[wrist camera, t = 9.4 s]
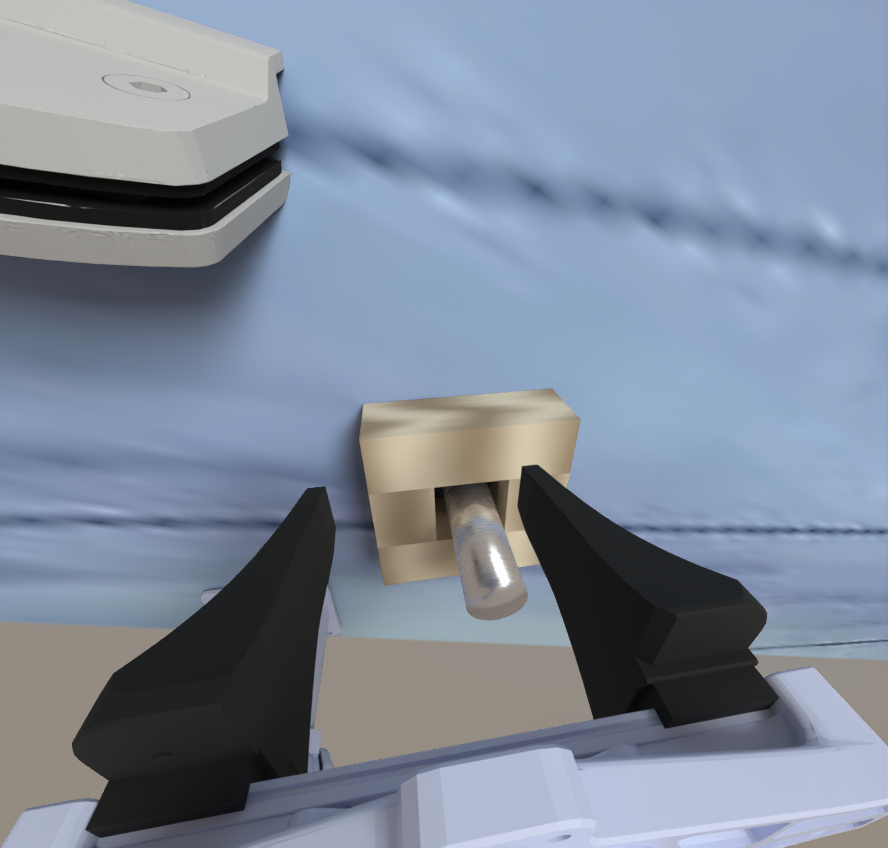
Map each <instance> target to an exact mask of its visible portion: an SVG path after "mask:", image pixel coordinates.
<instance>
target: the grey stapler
mask: <svg viewBox="0 0 888 848" xmlns="http://www.w3.org/2000/svg"><path fill="white" fill-rule="evenodd" d="M283 69H284V62H283V55H282V51H280V50H277V49H274V48H271V47H268V46H265V45H262V44H259V43H256V42H253V41H250V40H247V39H244V38H241V37H237V36H234V35H231V34H228V33H225V32H222V31H219V30H216V29H213V28H210V27H207V26H204V25H201V24H198V23H195V22H192V21H189V20H186V19H182V18H179V17H176V16H173V15H170V14H167V13H164V12H161V11H158V10H155V9H152V8H149V7H146V6H143V5H140V4H137V3H134V2H130V1H127V0H0V255H9V256H17V257H26V258H35V259H43V260H55V261H67V262H80V263H92V264H108V265H130V266H153V267H202V266H209V265H212V264H215V263H218V262H219V261H221V260H222V259H223V258H224V257H225V256H226V255H227V254H229V253H230V252H231V251H232V250H233V249H234V248H235V247H236V246H237V245H238V244H240V243H241V242H242V241H243V240H244V239H245V238H246V237H247V236H248V235H249V234H250V233H252V232H253V231H254V230H255V229H256V228H257V227H258V226H259V225H260V224H261V223H263V222H264V221H265V220H266V219H267V218H268V217H269V216H270V215H271V214H272V213H274V212H275V211H276V210H277V209H278V208H279V207H280V206H281V205H282V204H283V203H285V202H286V198H287V194H288V188H289V181H290V174H291V173H290V172H287V171H283V170H281V161H278V160H275V159H271V158H267V157H266V156H268V155H269V154H271V153H273V152H274V151H276V150H277V149H279V148H280V144H279V141H280V140H282V139H284V138H285V137H287V136H288V131H287V126H286V121H285V117H284V112H283V107H282V102H281V97H280V92H279V88H278V83H277V78H276V74H277V73H279V72H280V71H282V70H283Z"/></svg>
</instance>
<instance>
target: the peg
mask: <svg viewBox="0 0 888 848" xmlns="http://www.w3.org/2000/svg"><path fill="white" fill-rule="evenodd" d="M442 489H443V494H444V499H445V504H446V509H447V514H448V519H449V524H450V529H451V534H452V539H453V544H454V548H455V553H456V558H457V563H458V568H459V573H460V578H461V583H462V588H463V593H464V598H465V603H466V608H467V611H468V613H469V614H470V615H471V616H473V617H475V618H477V619H481V620H497V619H501V618H505V617H507V616H510V615H512V614H514V613H515V612H517V611H518V610H519V609H521V608H522V607H523V605H524V604H525V602H526V601H527V597H528V593H527V590H526V587H525V585H524V582H523V579H522V577H521V574H520V571H519V568H518V566H517V563H516V560H515V558H514V555H513V552H512V549H511V547H510V544H509V541H508V539H507V536H506V533H505V530H504V528H503V525H502V522H501V520H500V517H499V514H498V511H497V509H496V506H495V503H494V501H493V498H492V495H491V492H490V490H489V487H488V484H487V482H482V483H473V484H463V485H454V486H445V487H442Z"/></svg>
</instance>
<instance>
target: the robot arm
mask: <svg viewBox="0 0 888 848" xmlns="http://www.w3.org/2000/svg"><path fill="white" fill-rule="evenodd" d="M517 507H518V511H519V514H520V517H521V520H522V523H523V526H524V529H525V532H526V534H527V536H528V539H529V541H530V543H531V545H532V547H533V549H534V552H535V554H536V556H537V558H538V560H539V562H540V564H541V566H542V569H543V571H544V573H545V575H546V577H547V579H548V581H549V583H550V586H551V588H552V591H553V593H554V595H555V598H556V601H557V604H558V607H559V609H560V612H561V615H562V618H563V621H564V624H565V627H566V630H567V633H568V636H569V639H570V642H571V645H572V648H573V651H574V654H575V657H576V661H577V664H578V667H579V670H580V674H581V677H582V680H583V684H584V687H585V690H586V694H587V698H588V701H589V704H590V708H591V712H592V715H593V719H594V720H590V721H584V722H579V723H573V724H568V725H562V726H557V727H552V728H546V729H541V730H535V731H531V732H525V733H519V734H514V735H509V736H504V737H498V738H492V739H487V740H483V741H476V742H471V743H466V744H460V745H455V746H449V747H444V748H439V749H433V750H428V751H423V752H417V753H412V754H407V755H401V756H396V757H390V758H386V759H380V760H374V761H369V762H364V763H359V764H353V765H347V766H342V767H337V768H334V765H333V762H332V760H331V757H330V754H329V752H328V750H327V749H325V748H320V741H321V733H322V731H321V730H316V729H314V724H315V717H316V710H317V702H318V695H319V688H320V681H321V674H322V666H323V659H324V652H325V645H326V638H327V637H329V636H336V635H339V634H340V633H341V626H340V623H339V619H338V616H337V612H336V609H335V606H334V602H333V599H332V596H331V592H330V589H329V586H328V580H329V575H330V570H331V565H332V560H333V554H334V543H335V528H336V527H335V523H334V519H333V515H332V511H331V507H330V503H329V499H328V495H327V491H326V487H315V488H307V490H306V491H305V492H304V493H303V495H302V496H301V498H300V499H299V500H298V502H297V503H296V505H295V506H294V507H293V509H292V510H291V512H290V513H289V514H288V516H287V517H286V518H285V520H284V521H283V522H282V524H281V525H280V526H279V527H278V529H277V530H276V531H275V533H274V534H273V535H272V536H271V538H270V539H269V540H268V541H267V542H266V544H265V545H264V546H263V547H262V548H261V549H260V551H259V552H258V553H257V554H256V555H255V556H254V558H253V559H252V560H251V561H250V562H249V563H248V564H247V565H246V566H245V567H244V568H243V569H242V570H241V571H240V572H239V573H238V574H237V576H236V577H235V578H234V579H233V580H232V581H231V582H230V583H228V584H227V585H226V586H225V587H224V588H223V589H217V590H209V591H205V592H203V593H202V595H201V597H200V599H201V601H202V602H203V606H202V608H201V609H200V610H198V611H197V612H196V613H195V614H193V615H192V616H191V617H190V618H189V619H187V620H186V621H185V622H184V623H182V624H181V625H180V626H179V627H177V628H176V629H175V630H173V631H172V632H171V633H170V634H168V635H167V636H166V637H164V638H163V639H162V640H160V641H159V642H158V643H156V644H155V645H153V646H152V647H151V648H149V649H148V650H146V651H145V652H143V653H142V654H141V655H139V656H138V657H136V658H135V659H134V660H132V661H131V662H129V663H128V664H126V665H125V666H124V667H122V668H121V669H119V670H118V671H116V672H115V673H113V675H112V676H111V678H110V680H109V681H108V682H107V684H106V686H105V687H104V689H103V690H102V692H101V693H100V695H99V697H98V699H97V700H96V702H95V704H94V706H93V707H92V709H91V711H90V713H89V714H88V716H87V718H86V720H85V721H84V723H83V725H82V726H81V728H80V730H79V732H78V733H77V735H76V737H75V739H74V740H73V742H72V748H73V752H74V755H75V756H76V757H77V758H78V759H79V760H80V761H81V762H83V763H84V764H85V765H87V766H88V767H90V768H91V769H93V770H94V771H95V772H97V773H98V774H100V775H101V776H103V777H104V778H106V779H107V780H109V782H108V784H107V786H106V788H105V790H104V792H103V794H102V796H101V798H100V800H97V799H89V798H85V799H76V800H70V801H65V802H59V803H54V804H49V805H43V806H37V807H32V808H28V809H27V810H25V811H24V812H22V813H21V815H20V817H19V819H18V820H17V822H16V823H15V825H14V827H13V828H12V830H11V832H10V833H9V835H8V837H7V838H6V840H5V842H4V843H3V845H2V847H1V848H784V847H787V846H791V845H795V844H798V843H802V842H806V841H810V840H813V839H817V838H821V837H824V836H829V835H832V834H837V833H841V832H845V831H849V830H853V829H856V828H861V827H863V826H865V825H867V824H870V823H872V822H874V821H876V820H878V819H880V818H882V817H884V816H886V815H888V746H887V745H886V744H885V743H884V742H883V741H882V740H881V739H880V738H879V737H878V736H877V735H876V734H875V733H874V731H872V729H871V728H870V727H869V726H868V725H867V724H866V723H865V722H864V721H863V720H862V719H861V718H860V717H859V715H857V713H856V712H855V711H854V710H853V709H852V708H851V707H850V706H849V705H848V704H847V703H846V701H845V700H844V699H843V698H842V697H841V696H840V695H839V694H838V693H837V692H836V691H835V690H834V689H833V688H832V687H831V686H830V684H829V683H828V682H827V681H826V680H825V679H824V678H823V677H822V676H821V675H820V674H819V673H818V671H816V669H815V668H813V667H809V666H808V667H803V668H797V669H792V670H786V671H781V672H776V673H773V674H770V675H768V676H766V677H765V678H763V677H762V676H761V674H760V673H759V672H758V671H757V669H756V668H755V667H754V666H756V665H757V664H758V660H757V658H756V657H755V656H754V655H753V654H752V652H751V651H750V650H749V649H748V647H749V646H750V645H751V643H752V642H753V641H754V639H755V638H756V637H757V636H758V634H759V633H760V632H761V630H762V629H763V627H764V626H765V624H766V619H767V612H766V610H765V608H764V607H763V606H762V605H761V604H760V603H759V602H758V601H757V600H756V599H755V598H754V597H753V596H752V595H751V594H750V593H749V591H748V590H747V589H746V588H745V587H744V586H743V585H742V584H741V583H740V582H739V581H738V580H736V579H733V578H731V577H728V576H725V575H723V574H720V573H717V572H715V571H712V570H709V569H707V568H704V567H701V566H699V565H696V564H694V563H692V562H689V561H687V560H685V559H682V558H680V557H678V556H676V555H673V554H671V553H669V552H667V551H665V550H663V549H661V548H659V547H657V546H655V545H653V544H651V543H649V542H647V541H645V540H643V539H641V538H639V537H638V536H636V535H634V534H632V533H630V532H629V531H627V530H625V529H624V528H622V527H620V526H619V525H617V524H615V523H614V522H612V521H611V520H609V519H608V518H606V517H605V516H603V515H602V514H600V513H599V512H597V511H596V510H594V509H593V508H592V507H590V506H589V505H587V504H586V503H585V502H583V501H582V500H581V499H579V498H578V497H577V496H576V495H574V494H573V493H572V492H570V491H569V490H568V489H567V488H565V487H564V486H563V485H562V484H561V483H559V482H558V481H557V480H556V479H555V478H553V477H552V476H551V475H550V474H549V473H547V472H546V471H545V470H544V469H543V468H541V467H540V466H539V465H538V464H537V465H527V466H522V469H521V478H520V487H519V495H518V504H517Z"/></svg>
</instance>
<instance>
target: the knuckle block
mask: <svg viewBox="0 0 888 848" xmlns="http://www.w3.org/2000/svg"><path fill="white" fill-rule="evenodd" d="M580 420H581V419H580V418H579V417H578V416H577V415H576V414H575V413H574V412H573V411H572V410H571V409H570V408H569V406H568V405H567V404H566V403H565V402H564V401H563V400H562V399H561V398H560V397H559V396H558V395H557V393H556V392H555V391H554V390H553V389H542V390H529V391H517V392H504V393H492V394H480V395H467V396H455V397H442V398H430V399H418V400H405V401H393V402H380V403H368V404H363V412H362V420H361V429H360V437H359V441H360V447H361V453H362V459H363V465H364V471H365V477H366V482H367V488H368V494H369V500H370V506H371V512H372V518H373V524H374V529H375V535H376V541H377V547H378V553H379V559H380V565H381V571H382V576H383V582H384V585H390V584H397V583H405V582H412V581H420V580H427V579H435V578H442V577H449V576H457V575H460V573H459V568H458V563H457V558H456V553H455V548H454V544H453V539H452V534H451V529H450V524H449V519H448V514H447V509H446V504H445V499H444V497H439V498H435V497H434V488H435V487H445V486H454V485H463V484H473V483H482V482H490V492H491V495H492V498H493V501H494V503H495V506H496V509H497V511H498V514H499V517H500V520H501V522H502V525H503V528H504V530H505V533H506V536H507V539H508V541H509V544H510V547H511V549H512V552H513V555H514V558H515V560H516V563H517V566H518V567H524V566H531V565H538V564H540V562H539V560H538V558H537V556H536V554H535V552H534V549H533V547H532V545H531V543H530V541H529V539H528V536H527V534H526V532H525V529H524V526H523V523H522V520H521V517H520V514H519V511H518V507H517V504H518V495H519V487H520V478H521V469H522V466H527V465H537V464H538V465H539V466H540V467H541V468H543V469H544V470H545V471H546V472H547V473H549V474H550V475H551V476H552V477H553V478H555V479H556V480H557V481H558V482H559V483H561V484H562V485H563V486H564V487H565V488H567V484H568V479H569V474H570V469H571V464H572V459H573V454H574V449H575V444H576V440H577V435H578V430H579V425H580Z"/></svg>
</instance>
